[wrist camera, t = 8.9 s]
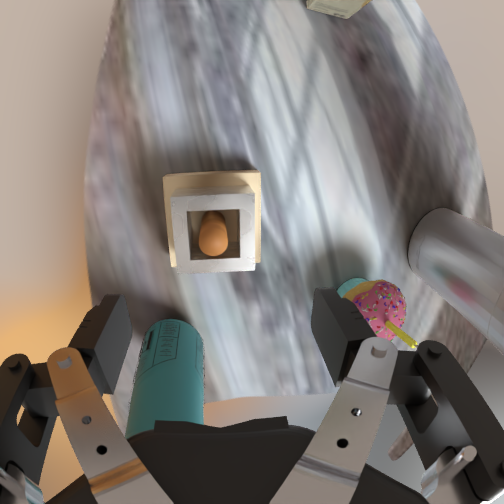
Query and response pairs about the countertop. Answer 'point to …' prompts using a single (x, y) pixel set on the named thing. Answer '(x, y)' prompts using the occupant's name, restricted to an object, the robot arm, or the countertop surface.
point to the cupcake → (379, 306)
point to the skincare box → (337, 7)
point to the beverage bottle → (167, 377)
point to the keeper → (213, 221)
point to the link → (213, 198)
